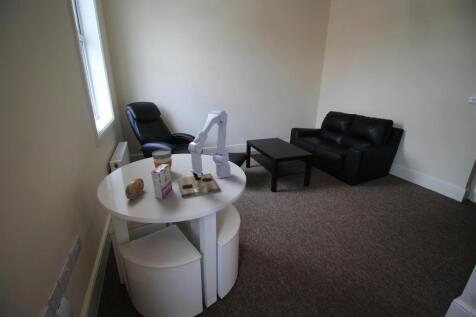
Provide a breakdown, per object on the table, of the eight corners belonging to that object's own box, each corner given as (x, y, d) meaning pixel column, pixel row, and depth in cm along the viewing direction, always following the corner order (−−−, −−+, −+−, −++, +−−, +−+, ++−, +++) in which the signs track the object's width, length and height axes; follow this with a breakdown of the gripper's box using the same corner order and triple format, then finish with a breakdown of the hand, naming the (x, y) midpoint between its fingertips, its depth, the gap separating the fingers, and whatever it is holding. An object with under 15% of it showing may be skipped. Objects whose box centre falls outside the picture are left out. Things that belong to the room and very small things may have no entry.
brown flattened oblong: (131, 202, 117) (128, 188, 114) (125, 201, 117) (123, 187, 114) (145, 188, 131) (143, 176, 128) (140, 188, 131) (138, 175, 128)
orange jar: (176, 169, 158) (174, 150, 153) (168, 176, 147) (165, 155, 141) (160, 168, 160) (157, 149, 155) (151, 175, 149) (148, 154, 144)
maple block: (202, 185, 130) (201, 179, 129) (203, 188, 127) (203, 182, 125) (195, 186, 129) (194, 180, 128) (196, 189, 125) (196, 183, 124)
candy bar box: (165, 189, 130) (161, 163, 125) (172, 189, 129) (169, 164, 124) (154, 198, 120) (150, 171, 114) (163, 199, 119) (159, 172, 113)
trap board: (210, 176, 147) (210, 173, 147) (219, 190, 128) (219, 187, 127) (177, 181, 140) (177, 178, 139) (181, 197, 121) (181, 194, 120)
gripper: (187, 159, 131) (189, 179, 136) (191, 167, 118) (193, 190, 123) (199, 157, 133) (200, 177, 138) (204, 166, 120) (206, 187, 125)
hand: (198, 183), depth 130 cm, fingers closed
